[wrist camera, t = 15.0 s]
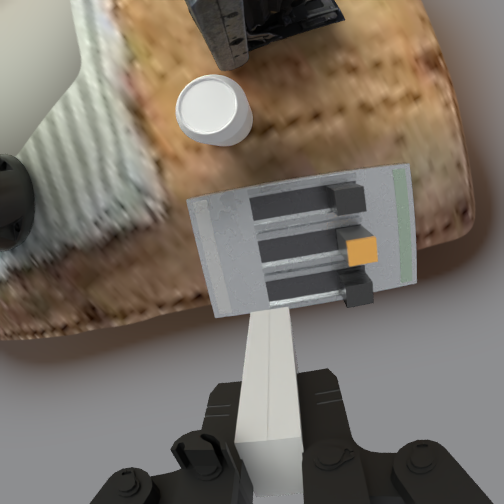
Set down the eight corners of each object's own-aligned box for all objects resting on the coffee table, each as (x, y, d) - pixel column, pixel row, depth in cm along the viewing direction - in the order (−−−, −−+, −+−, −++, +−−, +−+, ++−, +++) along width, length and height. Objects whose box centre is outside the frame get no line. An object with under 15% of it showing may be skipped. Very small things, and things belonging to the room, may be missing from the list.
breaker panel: (217, 310, 42) (208, 338, 35) (190, 197, 38) (173, 206, 31) (410, 277, 39) (433, 299, 33) (402, 162, 35) (428, 165, 28)
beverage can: (190, 130, 36) (155, 121, 24) (217, 86, 34) (195, 57, 22) (235, 156, 36) (219, 157, 25) (263, 111, 34) (261, 91, 23)
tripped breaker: (338, 250, 36) (349, 266, 31) (335, 229, 36) (347, 242, 30) (363, 246, 36) (377, 261, 31) (361, 225, 35) (376, 237, 30)
